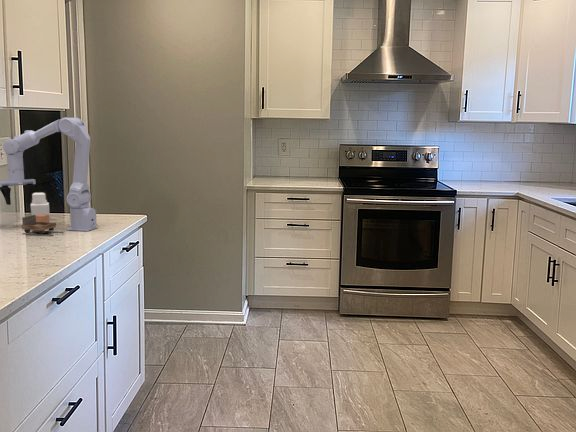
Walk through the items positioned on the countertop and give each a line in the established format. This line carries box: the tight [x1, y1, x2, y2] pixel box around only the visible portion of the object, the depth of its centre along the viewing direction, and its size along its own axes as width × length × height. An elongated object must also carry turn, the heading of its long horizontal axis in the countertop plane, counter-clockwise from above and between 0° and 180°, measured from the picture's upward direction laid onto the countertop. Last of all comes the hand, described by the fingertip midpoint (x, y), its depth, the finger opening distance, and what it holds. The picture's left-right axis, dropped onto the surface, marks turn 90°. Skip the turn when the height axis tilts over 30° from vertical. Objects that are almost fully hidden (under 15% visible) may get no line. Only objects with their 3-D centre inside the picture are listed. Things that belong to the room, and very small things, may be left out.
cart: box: [21, 214, 57, 234], centre depth 220 cm, size 9×8×6 cm
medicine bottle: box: [29, 191, 51, 220], centre depth 248 cm, size 7×7×12 cm
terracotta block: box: [36, 214, 50, 222], centre depth 232 cm, size 4×4×5 cm
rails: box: [21, 230, 64, 237], centre depth 220 cm, size 13×7×1 cm, turn 78°
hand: (18, 203), depth 230 cm, fingers open, 7 cm apart
